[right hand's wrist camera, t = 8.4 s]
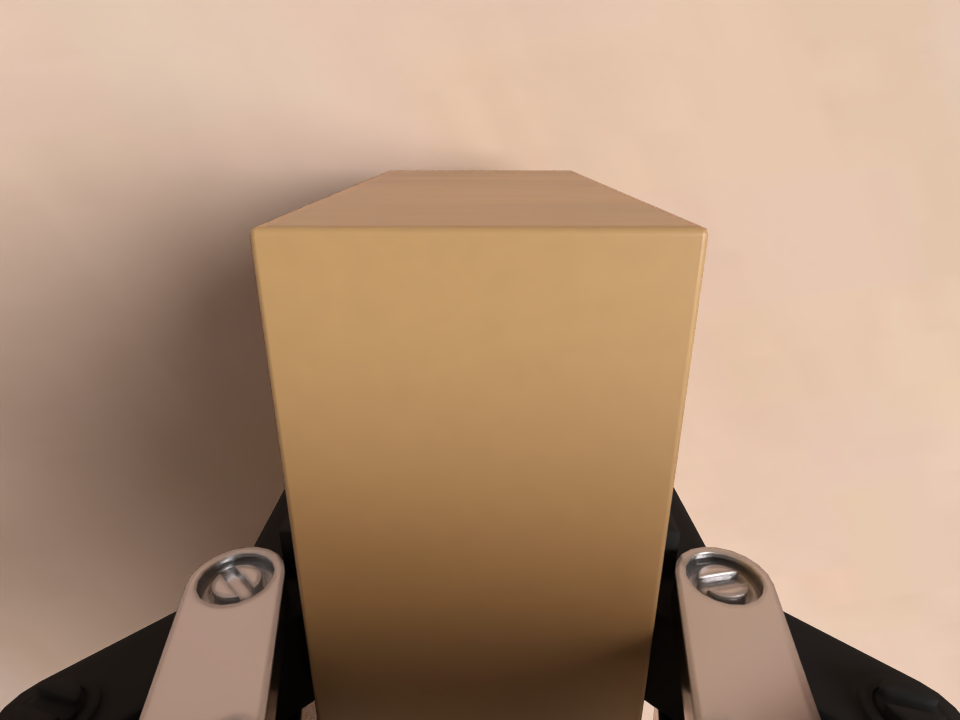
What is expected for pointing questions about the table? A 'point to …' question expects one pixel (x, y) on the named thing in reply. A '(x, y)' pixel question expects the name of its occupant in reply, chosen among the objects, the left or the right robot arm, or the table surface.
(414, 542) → the beam
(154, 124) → the table surface
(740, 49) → the table surface
